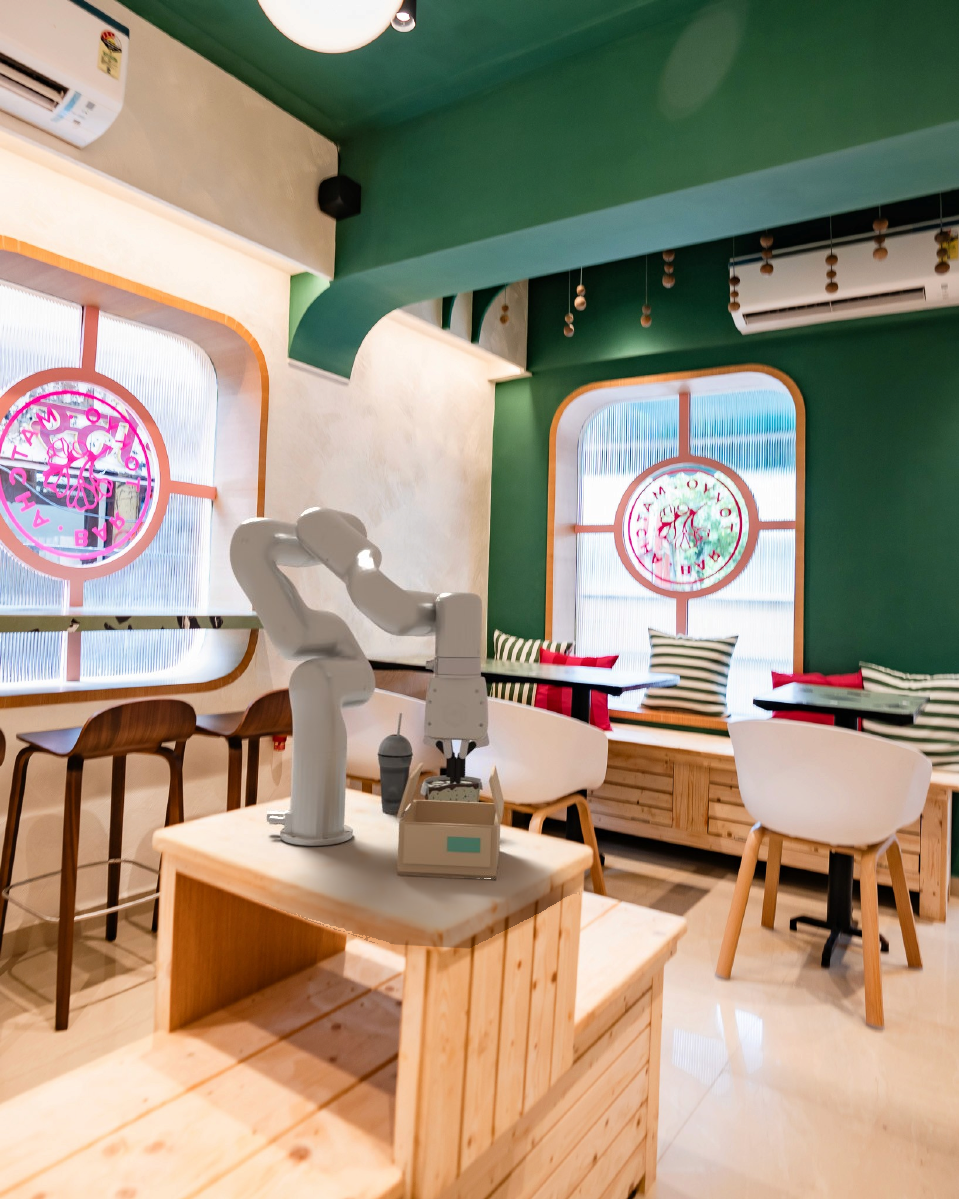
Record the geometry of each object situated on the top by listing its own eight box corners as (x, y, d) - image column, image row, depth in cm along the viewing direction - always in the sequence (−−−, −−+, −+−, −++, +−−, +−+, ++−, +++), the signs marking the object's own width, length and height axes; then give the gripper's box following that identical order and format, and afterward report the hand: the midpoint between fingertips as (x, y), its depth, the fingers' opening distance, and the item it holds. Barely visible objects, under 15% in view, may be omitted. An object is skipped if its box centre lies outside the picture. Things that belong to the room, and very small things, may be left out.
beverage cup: (393, 805, 168) (396, 710, 169) (418, 811, 163) (421, 713, 164) (367, 811, 162) (371, 712, 163) (393, 817, 158) (396, 715, 158)
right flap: (488, 781, 122) (492, 780, 122) (492, 766, 136) (495, 765, 136) (498, 822, 122) (501, 821, 122) (501, 803, 136) (504, 802, 136)
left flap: (399, 818, 123) (396, 817, 123) (412, 799, 136) (409, 798, 136) (411, 778, 123) (408, 777, 123) (423, 763, 137) (420, 762, 137)
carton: (396, 876, 121) (398, 823, 121) (412, 845, 138) (414, 798, 138) (495, 881, 120) (497, 827, 120) (499, 849, 137) (501, 802, 137)
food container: (463, 825, 153) (465, 772, 153) (481, 833, 148) (483, 778, 148) (406, 833, 146) (408, 778, 147) (423, 841, 141) (425, 784, 141)
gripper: (408, 668, 127) (406, 785, 126) (503, 670, 126) (501, 788, 125) (415, 666, 134) (412, 776, 133) (504, 668, 133) (502, 779, 133)
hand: (455, 781), depth 129 cm, fingers closed
